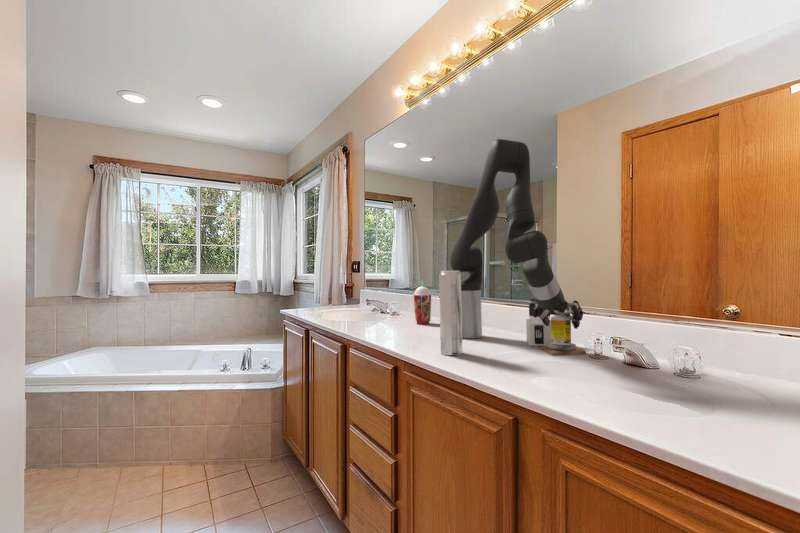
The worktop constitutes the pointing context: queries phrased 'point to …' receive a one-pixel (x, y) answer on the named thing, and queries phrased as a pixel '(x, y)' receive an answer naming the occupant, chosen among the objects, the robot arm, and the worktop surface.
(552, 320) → the supplement bottle
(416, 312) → the smoothie
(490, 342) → the worktop surface
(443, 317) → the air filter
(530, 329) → the container
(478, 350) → the worktop surface
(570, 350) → the hub
